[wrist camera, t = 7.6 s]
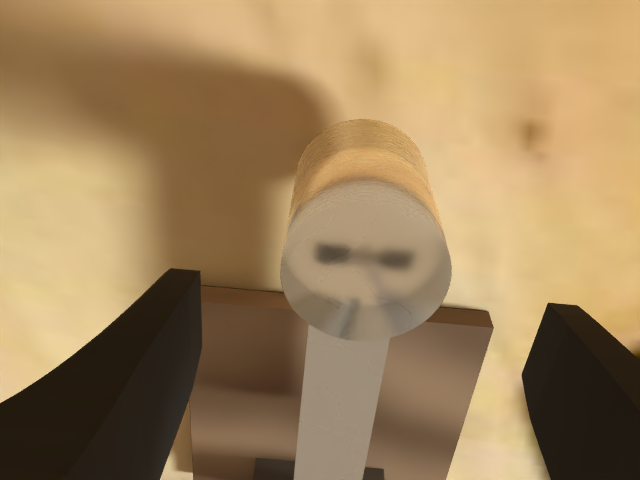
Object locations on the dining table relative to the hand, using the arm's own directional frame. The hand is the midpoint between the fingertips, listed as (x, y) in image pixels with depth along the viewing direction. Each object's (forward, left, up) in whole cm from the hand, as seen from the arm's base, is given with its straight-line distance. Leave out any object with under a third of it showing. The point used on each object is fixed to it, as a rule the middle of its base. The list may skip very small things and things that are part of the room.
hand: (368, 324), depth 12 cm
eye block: (-13, 0, -9) cm, 16 cm away
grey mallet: (-5, 0, -7) cm, 8 cm away
